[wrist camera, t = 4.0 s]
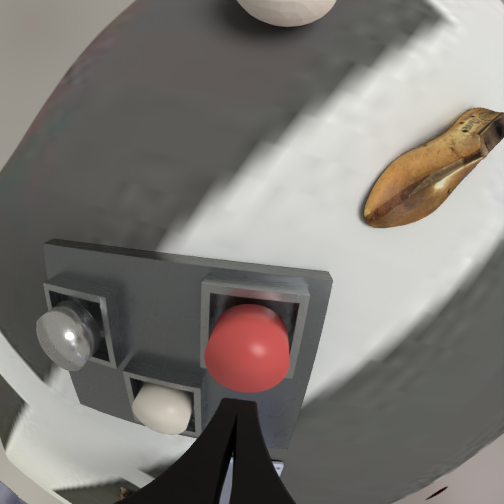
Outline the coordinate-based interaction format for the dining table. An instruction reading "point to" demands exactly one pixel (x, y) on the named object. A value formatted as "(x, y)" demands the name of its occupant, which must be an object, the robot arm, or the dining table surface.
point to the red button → (248, 349)
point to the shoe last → (432, 170)
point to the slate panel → (182, 326)
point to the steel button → (68, 335)
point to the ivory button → (163, 408)
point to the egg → (287, 10)
